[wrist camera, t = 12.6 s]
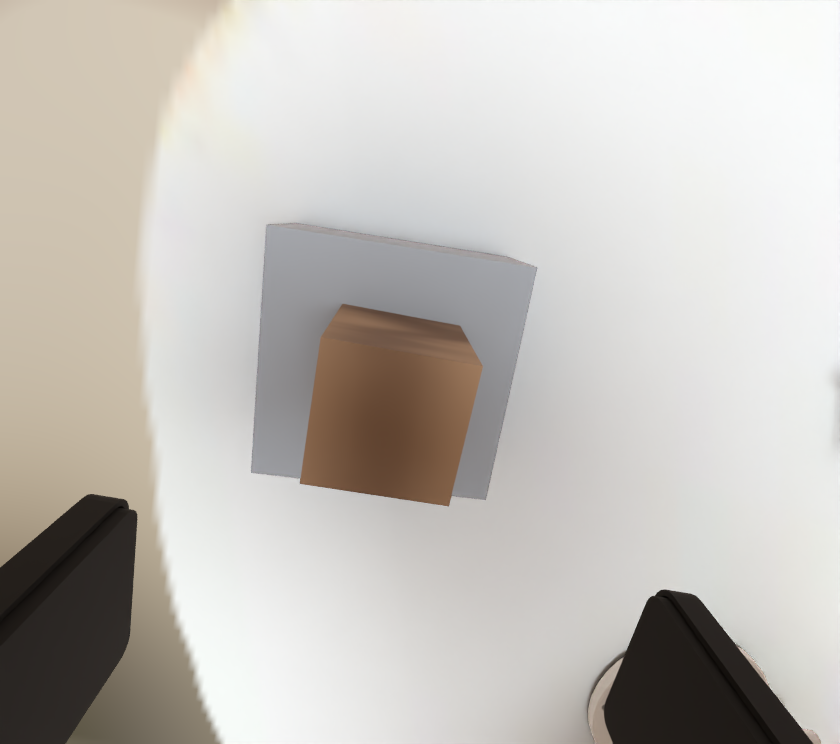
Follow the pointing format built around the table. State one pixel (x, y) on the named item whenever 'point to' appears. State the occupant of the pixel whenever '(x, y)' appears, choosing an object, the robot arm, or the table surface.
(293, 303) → the slate base
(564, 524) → the table surface
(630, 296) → the table surface
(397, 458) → the copper block
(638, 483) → the table surface
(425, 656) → the table surface
